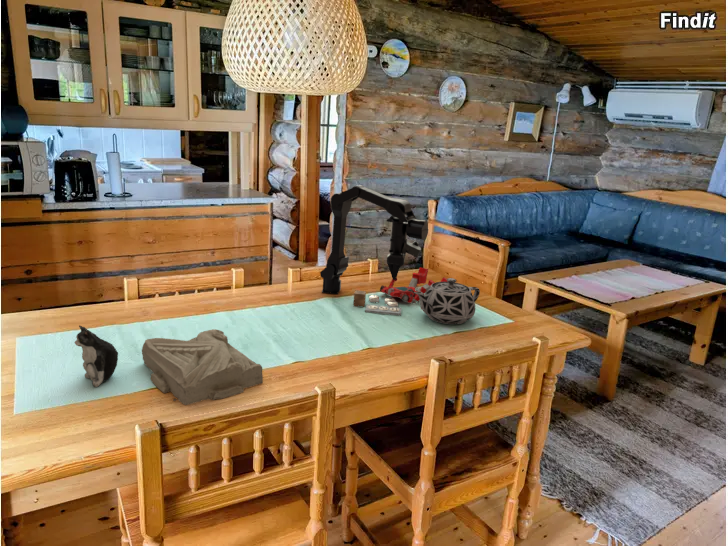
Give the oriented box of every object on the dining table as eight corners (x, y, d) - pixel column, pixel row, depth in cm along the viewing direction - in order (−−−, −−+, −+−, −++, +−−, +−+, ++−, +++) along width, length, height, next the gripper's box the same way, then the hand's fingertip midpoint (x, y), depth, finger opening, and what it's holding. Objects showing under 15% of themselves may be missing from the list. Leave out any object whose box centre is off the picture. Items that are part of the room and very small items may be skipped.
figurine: (70, 377, 143) (65, 322, 138) (109, 367, 149) (106, 314, 145) (83, 391, 136) (79, 334, 132) (124, 380, 143) (121, 325, 139)
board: (365, 311, 203) (365, 309, 203) (366, 306, 209) (367, 303, 209) (400, 315, 202) (400, 312, 202) (401, 309, 208) (401, 307, 208)
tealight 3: (386, 308, 209) (387, 302, 208) (387, 305, 213) (388, 298, 212) (397, 309, 209) (398, 303, 208) (398, 306, 212) (398, 299, 212)
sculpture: (179, 413, 131) (178, 379, 128) (133, 363, 153) (131, 334, 151) (273, 385, 147) (274, 355, 144) (219, 343, 169) (219, 317, 167)
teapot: (395, 316, 202) (398, 276, 197) (458, 305, 218) (463, 268, 214) (428, 334, 186) (433, 292, 182) (494, 321, 203) (499, 282, 199)
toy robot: (456, 276, 227) (405, 283, 208) (452, 298, 230) (401, 307, 210) (424, 265, 240) (372, 271, 220) (421, 287, 242) (370, 294, 222)
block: (353, 306, 209) (354, 293, 207) (354, 302, 213) (355, 290, 211) (363, 307, 208) (364, 294, 207) (365, 303, 212) (366, 291, 211)
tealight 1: (368, 302, 214) (368, 296, 213) (369, 299, 218) (369, 293, 217) (378, 303, 214) (379, 297, 213) (379, 300, 218) (380, 294, 217)
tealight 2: (383, 304, 213) (384, 298, 212) (385, 301, 217) (386, 295, 216) (393, 306, 212) (394, 299, 211) (395, 303, 216) (396, 296, 215)
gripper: (420, 242, 193) (416, 285, 198) (421, 232, 211) (417, 271, 216) (388, 239, 194) (384, 282, 199) (391, 229, 212) (388, 268, 217)
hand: (395, 276), depth 207 cm, fingers open, 9 cm apart
